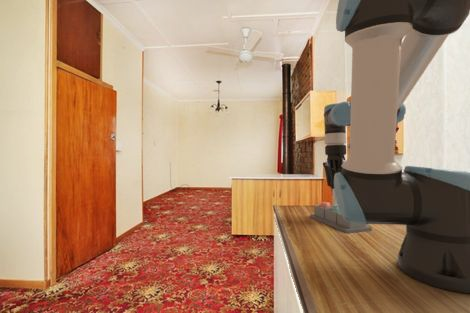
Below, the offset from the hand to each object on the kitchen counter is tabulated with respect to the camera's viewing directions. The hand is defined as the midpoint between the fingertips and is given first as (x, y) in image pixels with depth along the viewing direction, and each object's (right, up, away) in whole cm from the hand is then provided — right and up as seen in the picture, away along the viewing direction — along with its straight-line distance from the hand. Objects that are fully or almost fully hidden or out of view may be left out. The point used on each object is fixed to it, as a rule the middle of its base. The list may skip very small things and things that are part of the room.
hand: (337, 205), depth 88 cm
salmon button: (-2, -5, +7) cm, 8 cm away
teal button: (0, -5, 0) cm, 5 cm away
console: (0, -7, 0) cm, 7 cm away
